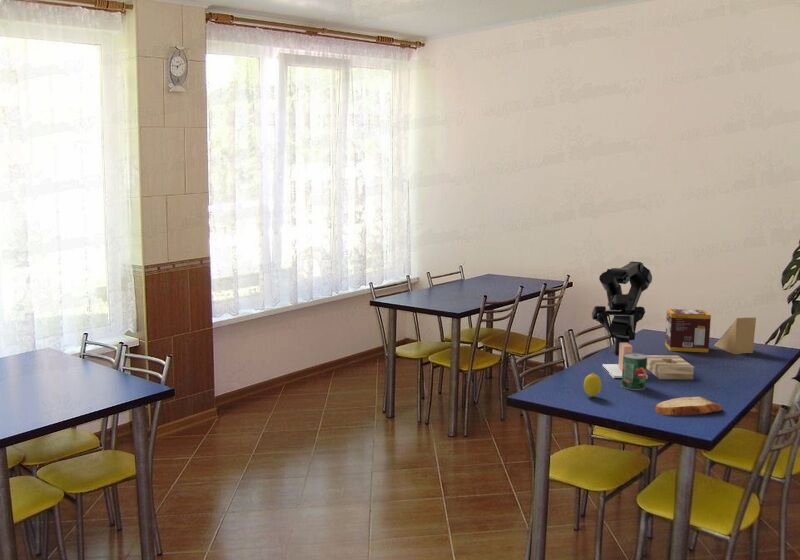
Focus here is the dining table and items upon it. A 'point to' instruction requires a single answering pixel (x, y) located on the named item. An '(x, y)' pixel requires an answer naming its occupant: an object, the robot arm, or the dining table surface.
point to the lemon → (592, 384)
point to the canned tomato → (634, 371)
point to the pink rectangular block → (622, 350)
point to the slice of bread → (687, 406)
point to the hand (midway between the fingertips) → (621, 332)
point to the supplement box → (687, 330)
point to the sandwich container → (739, 336)
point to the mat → (614, 370)
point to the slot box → (669, 367)
